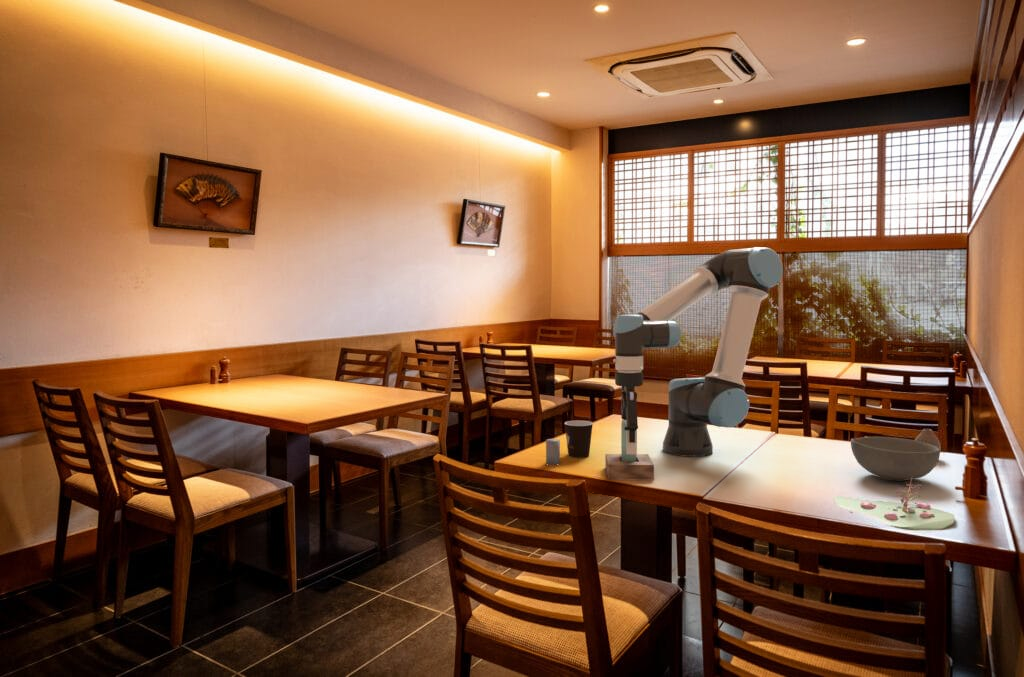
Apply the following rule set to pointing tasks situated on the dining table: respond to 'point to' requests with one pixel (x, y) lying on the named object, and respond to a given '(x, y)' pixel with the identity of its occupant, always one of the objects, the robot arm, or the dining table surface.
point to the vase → (928, 438)
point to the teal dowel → (625, 456)
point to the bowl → (895, 457)
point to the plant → (901, 512)
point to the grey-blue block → (552, 451)
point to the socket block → (629, 467)
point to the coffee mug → (578, 438)
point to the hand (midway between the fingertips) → (628, 448)
